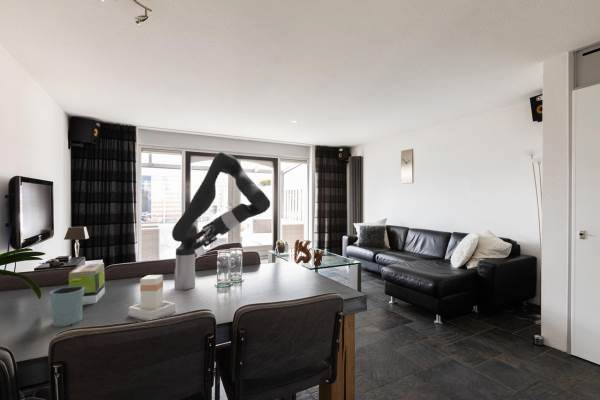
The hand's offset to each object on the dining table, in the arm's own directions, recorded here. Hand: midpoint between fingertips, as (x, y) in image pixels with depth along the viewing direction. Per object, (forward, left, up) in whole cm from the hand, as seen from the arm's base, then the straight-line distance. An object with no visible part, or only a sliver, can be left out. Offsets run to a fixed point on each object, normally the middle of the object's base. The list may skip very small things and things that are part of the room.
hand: (194, 242), depth 125 cm
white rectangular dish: (-9, -13, -27) cm, 32 cm away
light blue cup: (-31, -32, -27) cm, 52 cm away
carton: (-9, -13, -26) cm, 31 cm away
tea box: (-50, -15, -28) cm, 59 cm away
